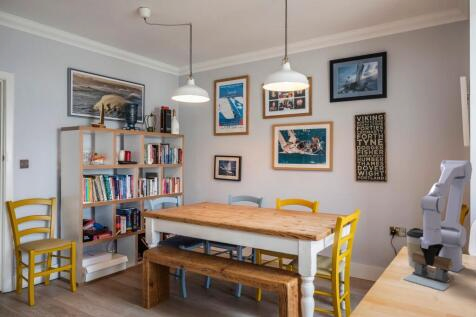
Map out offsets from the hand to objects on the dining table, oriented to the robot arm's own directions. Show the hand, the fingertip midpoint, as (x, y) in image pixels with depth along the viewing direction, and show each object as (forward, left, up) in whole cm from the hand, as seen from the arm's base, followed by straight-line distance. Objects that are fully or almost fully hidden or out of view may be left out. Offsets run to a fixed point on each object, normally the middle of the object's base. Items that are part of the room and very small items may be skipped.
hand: (431, 263), depth 124 cm
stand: (0, 0, -5) cm, 5 cm away
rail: (0, 0, 0) cm, 0 cm away
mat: (+8, +1, -5) cm, 9 cm away
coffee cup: (-9, -8, -5) cm, 13 cm away
